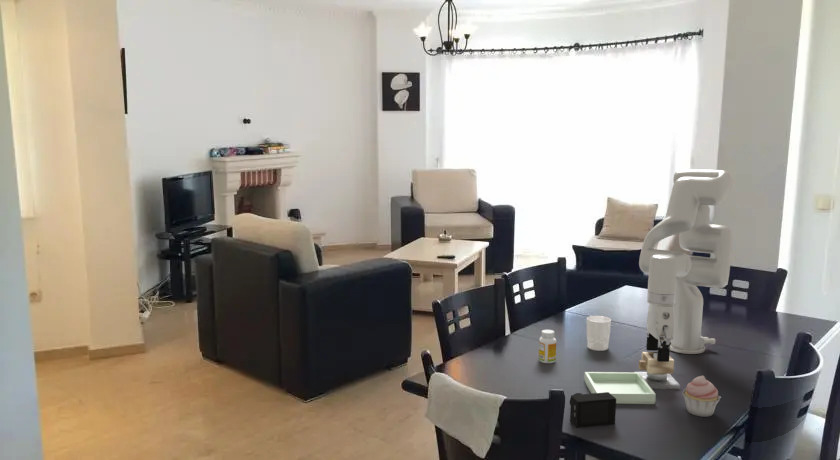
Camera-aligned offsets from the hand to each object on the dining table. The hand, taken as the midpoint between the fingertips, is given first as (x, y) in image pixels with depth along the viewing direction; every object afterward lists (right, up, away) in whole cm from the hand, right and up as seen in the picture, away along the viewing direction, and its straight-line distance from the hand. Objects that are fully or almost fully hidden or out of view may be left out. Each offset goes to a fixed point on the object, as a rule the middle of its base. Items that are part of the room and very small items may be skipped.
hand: (657, 355), depth 191 cm
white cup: (-9, -4, +32) cm, 33 cm away
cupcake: (+5, -12, -18) cm, 22 cm away
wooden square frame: (0, -4, +1) cm, 4 cm away
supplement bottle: (-28, -6, +19) cm, 35 cm away
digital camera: (-25, -13, -23) cm, 37 cm away
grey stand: (0, -8, +2) cm, 8 cm away
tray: (-13, -9, -5) cm, 17 cm away
